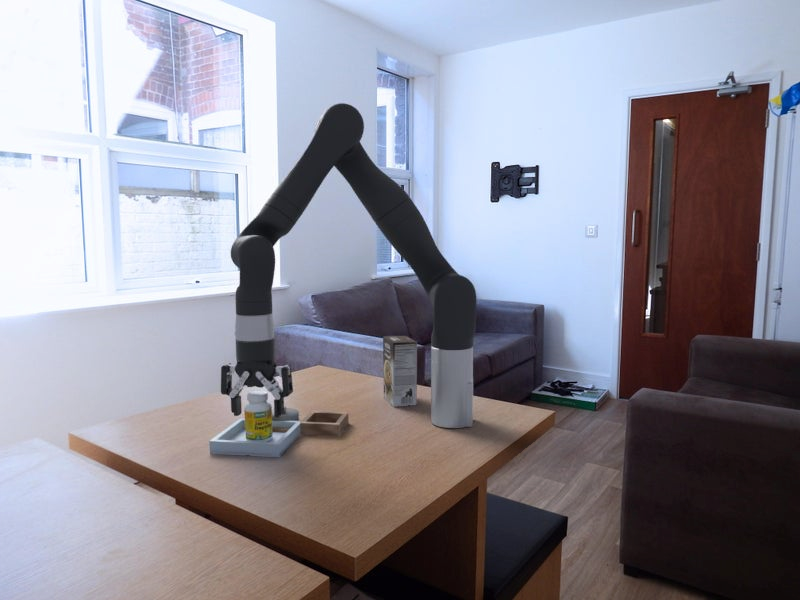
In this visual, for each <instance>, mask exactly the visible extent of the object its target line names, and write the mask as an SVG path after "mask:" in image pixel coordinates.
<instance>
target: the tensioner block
mask: <svg viewBox="0 0 800 600" xmlns="http://www.w3.org/2000/svg"><path fill="white" fill-rule="evenodd" d="M299 412H300V411H299V410H298V409H296V408H291V407H287V406H285V405H284V412H283V413H282V414H281V416H280V417H279V418H278V417H275V416H274V408H273V409H272V420H273V421H285V420H287V421H302V422H300V423H301V435H302V436H305V435H306V436H322V437H323V436H325V437H326V436H327V437H340V436H341V434H342V433H343V432H344V430H345V429H346V428H347V426H348V425H349V423H350V422H349V421H350V420H349V412H348V411H347V412H345V411H325V410H323V411H321V410H311V411H310V412H309V413H308V414H300V413H299ZM289 429H290V428H276V427H272V430H273V432H287V431H288V430H289ZM301 435H300V436H301Z"/></svg>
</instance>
